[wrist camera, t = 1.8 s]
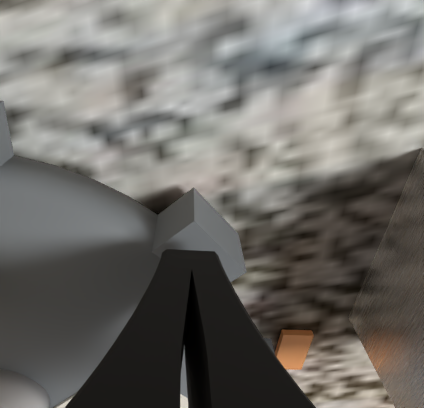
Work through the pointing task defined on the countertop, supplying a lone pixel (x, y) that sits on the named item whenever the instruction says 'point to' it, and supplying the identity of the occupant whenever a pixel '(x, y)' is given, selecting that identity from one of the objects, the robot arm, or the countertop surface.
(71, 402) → the robot arm
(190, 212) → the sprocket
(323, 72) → the countertop surface
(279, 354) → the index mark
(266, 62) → the countertop surface
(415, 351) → the orange-banded grey block
